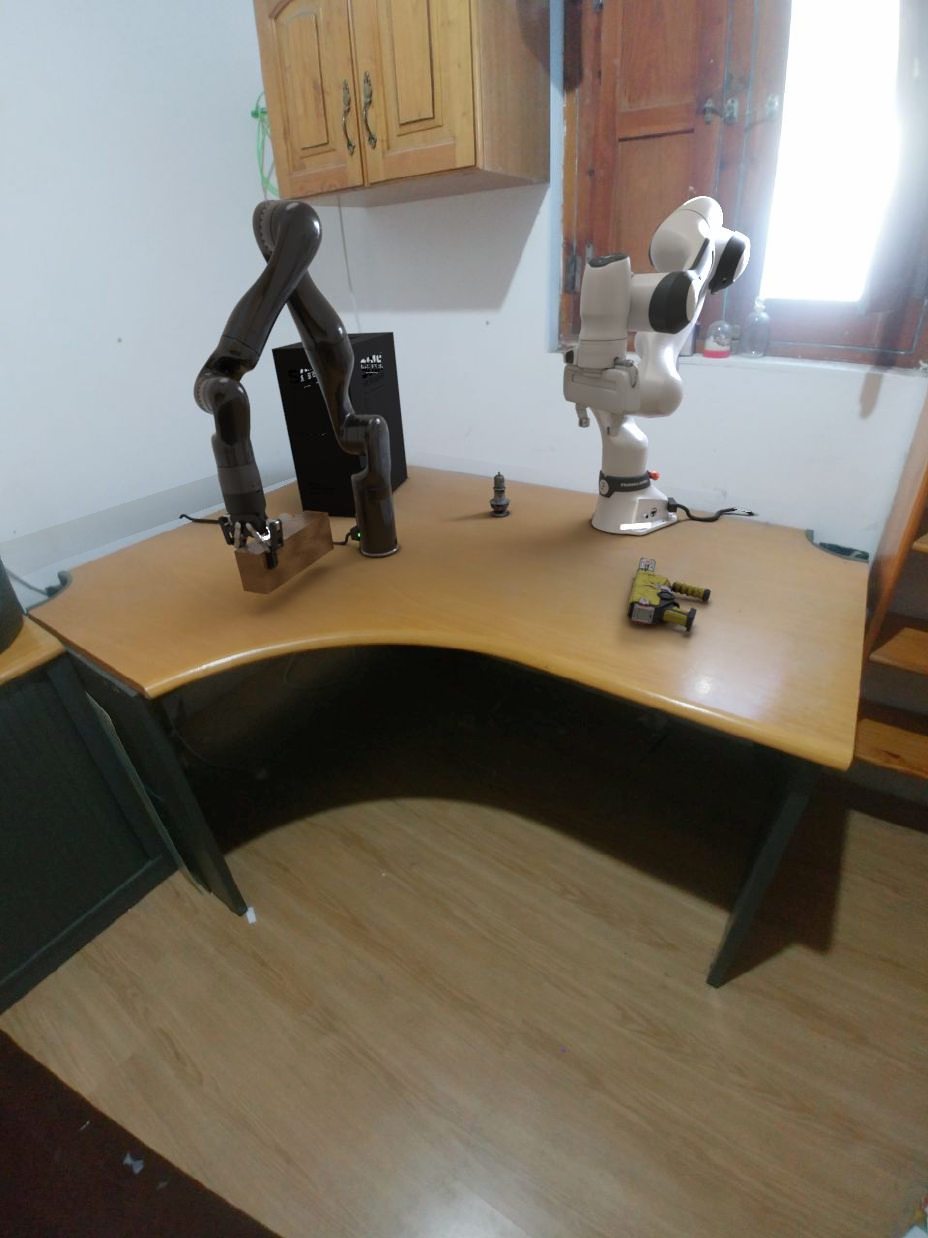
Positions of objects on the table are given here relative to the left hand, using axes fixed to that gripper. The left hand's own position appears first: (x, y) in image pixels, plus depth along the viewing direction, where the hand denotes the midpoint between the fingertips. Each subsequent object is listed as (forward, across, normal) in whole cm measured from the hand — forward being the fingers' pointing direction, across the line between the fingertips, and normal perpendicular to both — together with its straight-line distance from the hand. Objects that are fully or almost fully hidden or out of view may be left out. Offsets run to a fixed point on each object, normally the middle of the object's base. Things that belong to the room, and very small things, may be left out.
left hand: (260, 565), depth 123 cm
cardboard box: (+9, -20, +71) cm, 74 cm away
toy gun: (+10, +79, +26) cm, 84 cm away
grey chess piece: (+9, +29, +66) cm, 73 cm away
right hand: (-22, +61, +34) cm, 73 cm away
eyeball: (+10, -22, +37) cm, 44 cm away
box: (+5, 0, +9) cm, 11 cm away
